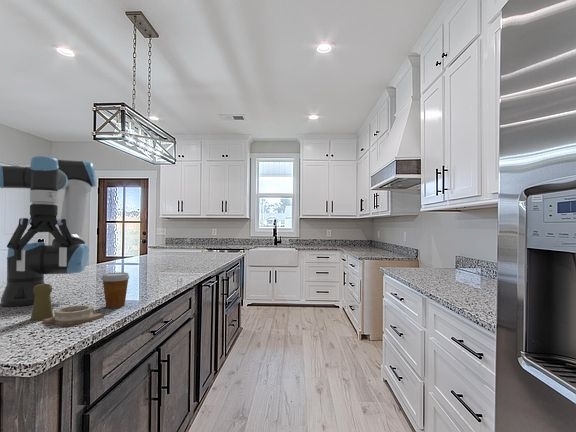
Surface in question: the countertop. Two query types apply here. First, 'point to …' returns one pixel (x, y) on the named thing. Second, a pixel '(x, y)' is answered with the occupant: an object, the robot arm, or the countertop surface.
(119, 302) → the disposable coffee cup
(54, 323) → the collar base
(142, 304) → the countertop surface
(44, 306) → the olive knobbed peg
